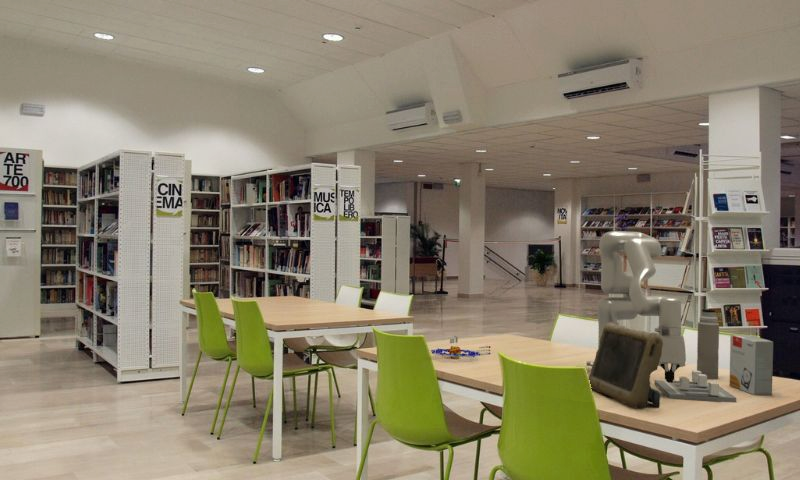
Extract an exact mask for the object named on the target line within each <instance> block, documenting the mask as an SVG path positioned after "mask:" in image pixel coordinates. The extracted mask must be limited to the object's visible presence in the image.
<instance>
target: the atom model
mask: <svg viewBox="0 0 800 480" xmlns="http://www.w3.org/2000/svg"><path fill="white" fill-rule="evenodd" d="M459 337H461V336H460V335H452V338H450V339H449V344H458V342H459V341H458V338H459ZM485 348H486V349H485ZM487 348H488V349H487ZM491 348H492V347H491V346H490V345H489V346H488V345H484V346H479V347H478V350H476V351H475V350H469V349H461V347H459V346H452V345H451V346H450V348H435V349H429V350H428V351H429V352H431V354H432V355H437V356H442V357H443V356H444V357H450V358H451V359H455V360H458V359H459V360H460V358H476V357H481V356H483V355H491ZM479 349H481V350H479Z"/></svg>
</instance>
